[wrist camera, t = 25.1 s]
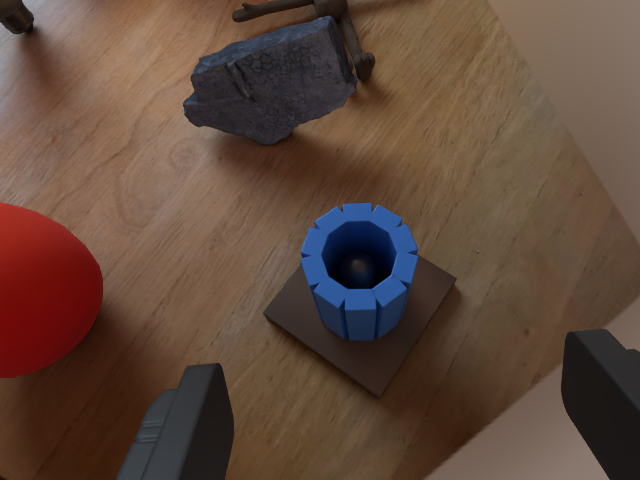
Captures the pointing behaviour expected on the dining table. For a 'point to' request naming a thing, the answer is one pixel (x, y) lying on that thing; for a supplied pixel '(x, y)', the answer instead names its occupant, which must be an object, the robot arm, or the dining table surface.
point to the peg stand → (382, 353)
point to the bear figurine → (326, 4)
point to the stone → (272, 82)
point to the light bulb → (16, 16)
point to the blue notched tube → (388, 254)
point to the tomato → (42, 291)
